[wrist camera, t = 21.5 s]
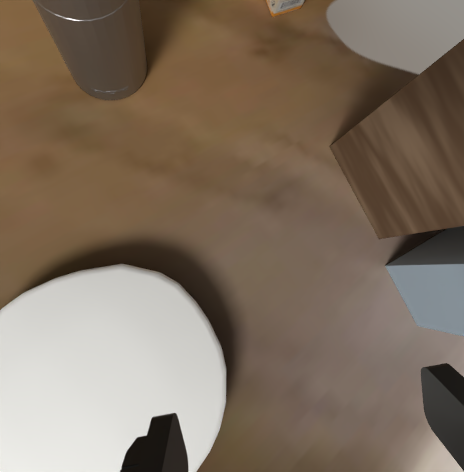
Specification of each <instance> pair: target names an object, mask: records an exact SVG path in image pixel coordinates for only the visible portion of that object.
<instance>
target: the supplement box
mask: <svg viewBox="0 0 464 472" xmlns="http://www.w3.org/2000/svg"><path fill="white" fill-rule="evenodd" d="M304 1H305V0H266V2H267V5H268V8H269V10H270V13H271V15H272V17H275V16H278V15H281V14H284V13H287V12H290V11H293V10H297V9H300V8H301V7H302V5H303V3H304Z"/></svg>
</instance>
